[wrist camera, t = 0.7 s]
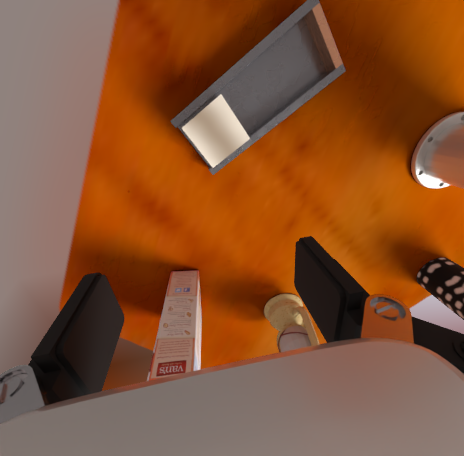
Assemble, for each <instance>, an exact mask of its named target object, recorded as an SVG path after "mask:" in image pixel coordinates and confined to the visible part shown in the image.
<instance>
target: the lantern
mask: <svg viewBox="0 0 464 456" xmlns="http://www.w3.org/2000/svg"><path fill="white" fill-rule="evenodd" d="M264 315H265V317H266V318H267V319H268V320H269V321H270V323H271V325H272V326H273V327H274V328H276V329H277V330H279V332H278V335H277V346H278V349H279V352H285V351H290V350H294V349H299V348H304V347H309V346H314V345H320V344H319V341H318V338H317V336H316V333H315V330H314V327H313V325H312V322H311V319H310V317H309V315H308V312H307V311H306V310H305V309H304V308H303V304H302V301H301V299H300V298H299V297H298V296H296V295H293V294H287V293H285V294H279V295H277V296H275V297H273V298H271V299H270V300H269V301H268V302H267V303H266V305H265V307H264Z"/></svg>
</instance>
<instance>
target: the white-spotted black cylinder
mask: <svg viewBox="0 0 464 456" xmlns="http://www.w3.org/2000/svg"><path fill="white" fill-rule="evenodd" d="M417 282H418V284H420V285H421V286H422V287H423V288H425V289H426V290H427V291H428V292H430V293H431V294H432V295H433V296H435V297H436V298H437V299H438V300H439V301H441V302H442V303H443V304H444V305H446V306H447V307H448V308H450V309H451V310H452V311H454V313H456V314H457V315H458V316H459V317H461V318H462V319H463V320H464V268H463V267H461V266H459V265H458V264H456V263H454V262H453V261H451V260H449V259H447V258H437V259H434V260H432V261H430V262H429V263H427V264H426V265H425V266H423V267H422V268H421V270H420V271H419V273H418V275H417Z"/></svg>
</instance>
